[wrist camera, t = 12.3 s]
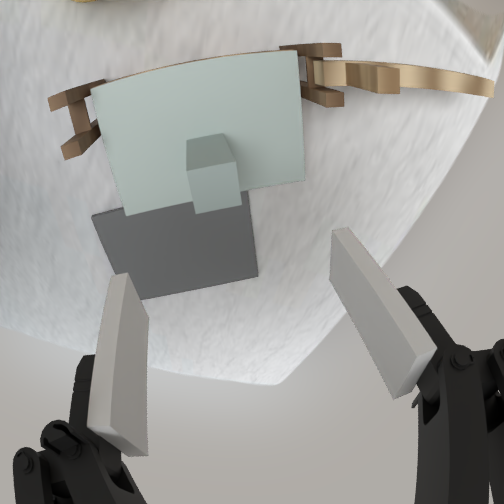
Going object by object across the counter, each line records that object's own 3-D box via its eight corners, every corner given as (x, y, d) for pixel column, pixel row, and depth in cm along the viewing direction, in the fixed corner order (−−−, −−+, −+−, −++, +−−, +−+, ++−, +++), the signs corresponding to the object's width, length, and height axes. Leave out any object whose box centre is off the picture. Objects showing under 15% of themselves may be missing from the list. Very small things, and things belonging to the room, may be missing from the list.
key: (314, 83, 24) (353, 94, 18) (313, 60, 23) (352, 64, 17) (480, 93, 26) (524, 110, 20) (481, 77, 25) (525, 92, 19)
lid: (128, 210, 29) (111, 266, 22) (94, 87, 22) (54, 103, 14) (301, 175, 31) (339, 220, 24) (292, 50, 23) (337, 50, 16)
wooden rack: (119, 189, 35) (96, 243, 25) (90, 83, 27) (47, 97, 17) (301, 153, 37) (343, 193, 27) (293, 45, 29) (341, 43, 19)
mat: (129, 299, 45) (129, 302, 44) (92, 215, 36) (91, 217, 35) (257, 273, 47) (258, 276, 46) (245, 180, 38) (246, 182, 37)
